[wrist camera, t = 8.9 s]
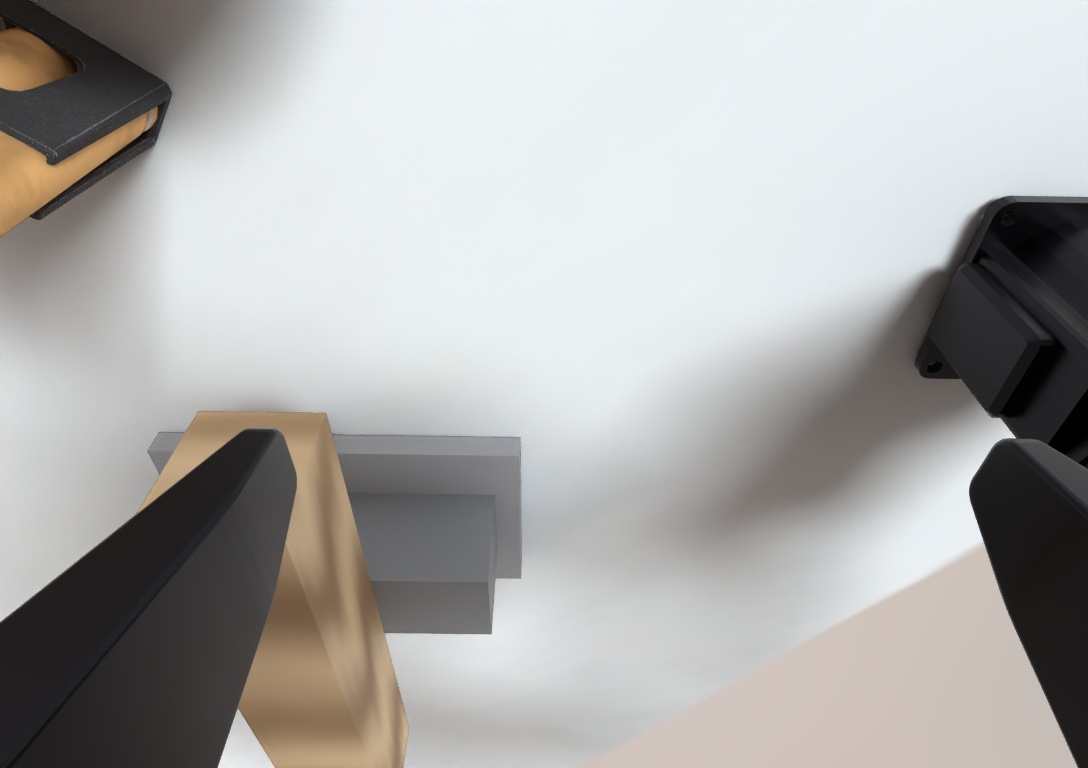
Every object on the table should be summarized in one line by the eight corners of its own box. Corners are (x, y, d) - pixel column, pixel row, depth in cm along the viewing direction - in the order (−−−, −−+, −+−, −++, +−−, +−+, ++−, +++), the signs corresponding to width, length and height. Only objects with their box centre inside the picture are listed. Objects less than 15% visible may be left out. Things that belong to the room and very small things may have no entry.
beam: (198, 411, 18) (127, 529, 15) (326, 413, 18) (281, 531, 15) (334, 727, 31) (311, 825, 28) (409, 728, 31) (393, 826, 28)
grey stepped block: (520, 437, 26) (515, 543, 22) (521, 559, 31) (517, 663, 27) (159, 432, 26) (90, 538, 22) (220, 556, 31) (174, 659, 27)
